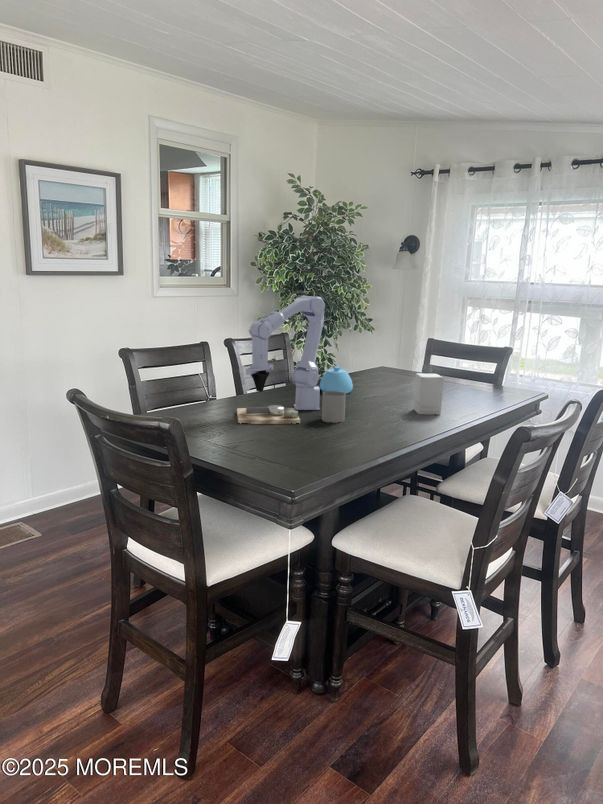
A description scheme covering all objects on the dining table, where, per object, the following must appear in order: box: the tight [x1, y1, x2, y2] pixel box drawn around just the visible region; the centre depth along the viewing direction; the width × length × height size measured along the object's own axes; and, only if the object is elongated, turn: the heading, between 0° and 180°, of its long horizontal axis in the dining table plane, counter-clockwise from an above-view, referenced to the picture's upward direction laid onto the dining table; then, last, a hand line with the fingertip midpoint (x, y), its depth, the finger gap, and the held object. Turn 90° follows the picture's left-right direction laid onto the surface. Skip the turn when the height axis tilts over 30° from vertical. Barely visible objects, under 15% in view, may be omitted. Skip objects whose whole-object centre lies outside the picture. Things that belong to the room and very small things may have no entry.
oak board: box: [236, 407, 301, 425], centre depth 222 cm, size 22×18×4 cm
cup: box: [321, 391, 347, 424], centre depth 220 cm, size 8×8×10 cm
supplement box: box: [413, 372, 445, 416], centre depth 236 cm, size 9×9×15 cm
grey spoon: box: [245, 404, 285, 415], centre depth 220 cm, size 14×6×2 cm, turn 103°
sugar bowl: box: [319, 366, 354, 395], centre depth 271 cm, size 15×15×12 cm
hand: (259, 391), depth 223 cm, fingers closed
